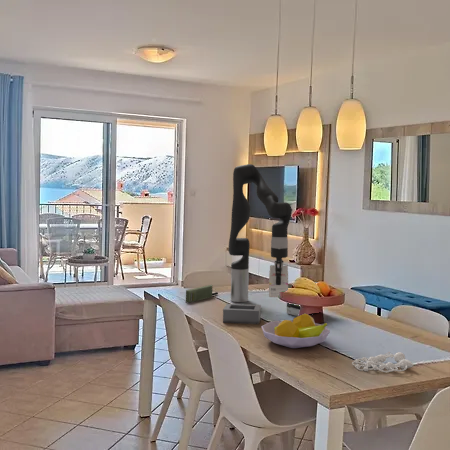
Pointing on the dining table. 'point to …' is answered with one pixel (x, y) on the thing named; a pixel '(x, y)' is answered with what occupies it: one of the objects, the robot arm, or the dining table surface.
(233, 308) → the desk holder
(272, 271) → the ink box
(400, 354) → the tangled rod sculpture
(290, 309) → the tea box
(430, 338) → the dining table surface
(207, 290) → the handheld radio
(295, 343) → the fruit bowl
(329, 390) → the dining table surface
